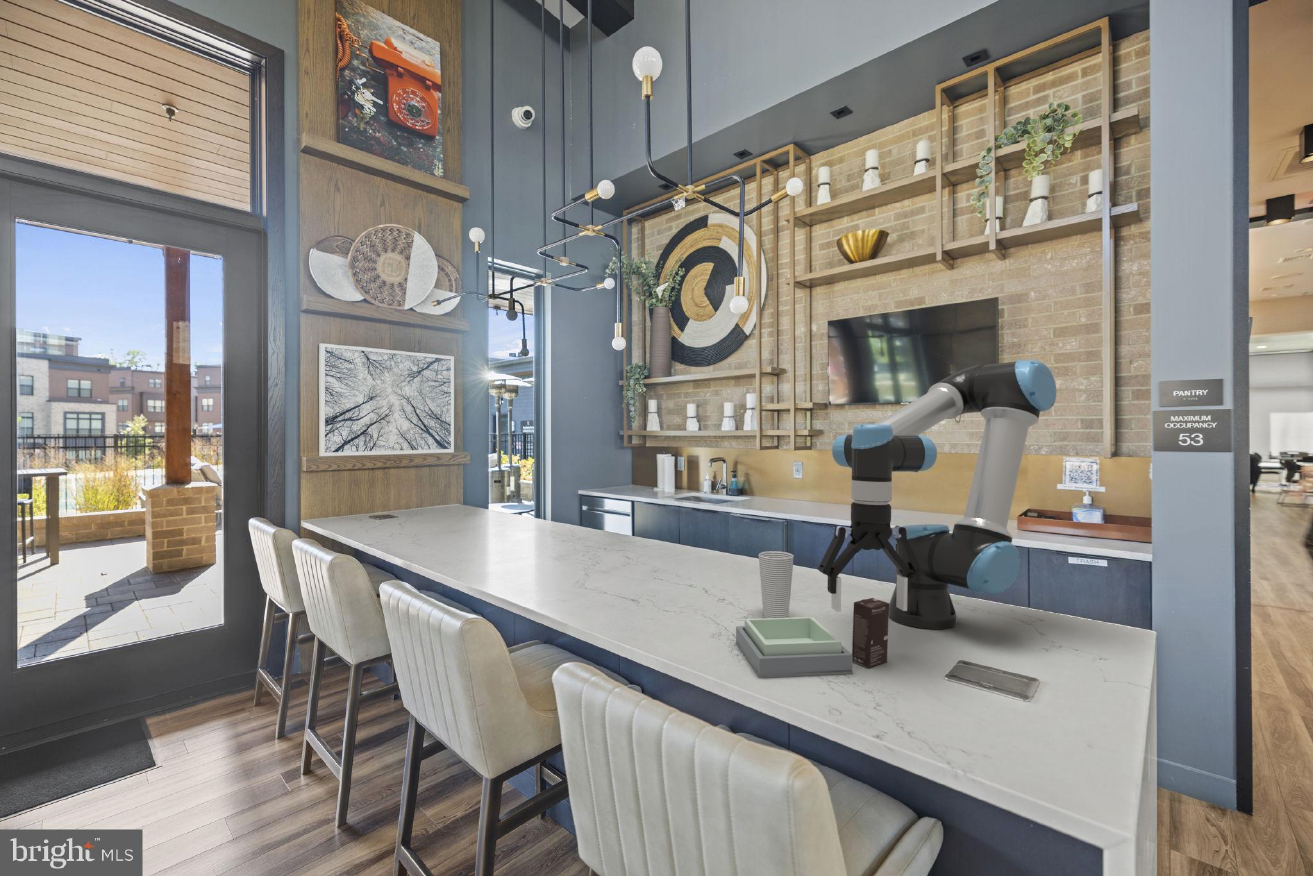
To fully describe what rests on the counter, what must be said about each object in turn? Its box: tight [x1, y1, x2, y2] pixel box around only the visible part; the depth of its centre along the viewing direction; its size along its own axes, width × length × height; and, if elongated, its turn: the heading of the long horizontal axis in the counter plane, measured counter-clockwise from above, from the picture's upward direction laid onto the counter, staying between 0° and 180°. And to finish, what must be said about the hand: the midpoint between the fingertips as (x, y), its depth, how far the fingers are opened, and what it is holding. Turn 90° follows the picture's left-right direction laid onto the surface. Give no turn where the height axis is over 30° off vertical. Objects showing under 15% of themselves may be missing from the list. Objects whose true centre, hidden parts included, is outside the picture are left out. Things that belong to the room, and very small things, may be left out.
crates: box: [735, 616, 853, 679], centre depth 117 cm, size 18×18×6 cm
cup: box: [758, 550, 795, 618], centre depth 142 cm, size 8×8×16 cm
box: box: [851, 597, 890, 669], centre depth 115 cm, size 6×4×12 cm
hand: (869, 609), depth 114 cm, fingers open, 13 cm apart
